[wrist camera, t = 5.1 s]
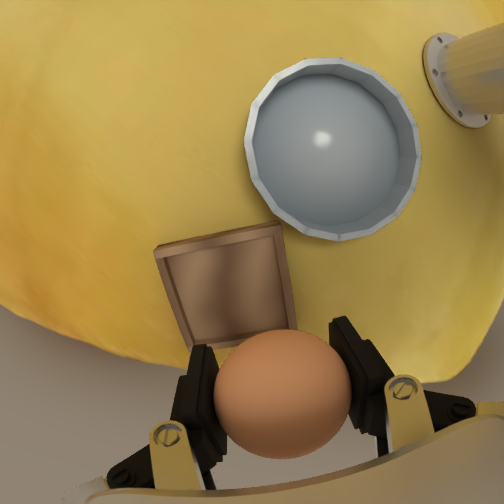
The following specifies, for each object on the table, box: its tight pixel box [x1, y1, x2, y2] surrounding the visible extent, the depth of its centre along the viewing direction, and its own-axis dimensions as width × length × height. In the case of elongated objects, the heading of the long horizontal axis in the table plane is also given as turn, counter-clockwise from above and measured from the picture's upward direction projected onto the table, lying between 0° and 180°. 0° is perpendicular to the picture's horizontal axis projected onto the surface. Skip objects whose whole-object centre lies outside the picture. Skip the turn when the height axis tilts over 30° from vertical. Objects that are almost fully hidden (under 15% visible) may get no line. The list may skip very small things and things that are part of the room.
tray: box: [153, 221, 297, 352], centre depth 27 cm, size 12×12×2 cm
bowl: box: [243, 58, 422, 242], centre depth 22 cm, size 16×16×4 cm
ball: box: [213, 329, 352, 459], centre depth 9 cm, size 5×5×5 cm
